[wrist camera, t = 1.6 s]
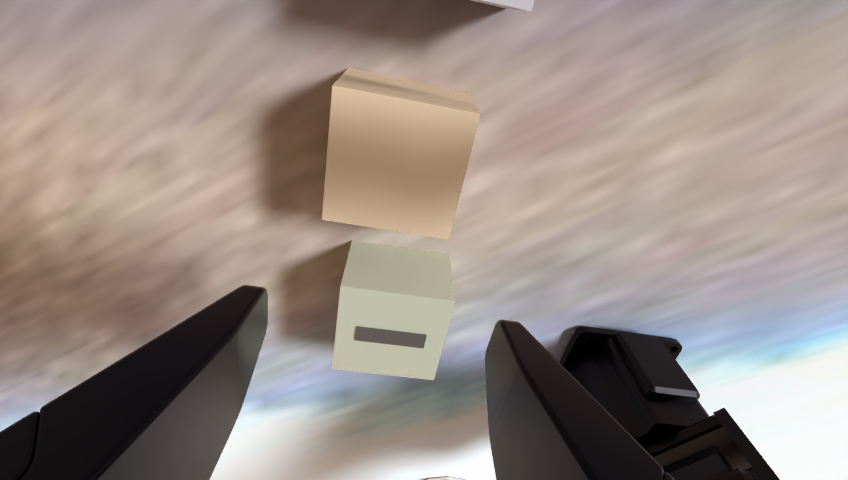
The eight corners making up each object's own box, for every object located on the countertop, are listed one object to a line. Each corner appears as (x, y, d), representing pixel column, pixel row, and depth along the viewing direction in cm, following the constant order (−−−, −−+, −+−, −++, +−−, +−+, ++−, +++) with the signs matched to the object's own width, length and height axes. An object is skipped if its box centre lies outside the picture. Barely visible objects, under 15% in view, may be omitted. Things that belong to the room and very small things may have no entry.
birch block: (442, 198, 20) (448, 239, 17) (337, 180, 19) (321, 219, 16) (467, 91, 18) (480, 113, 14) (348, 67, 17) (332, 85, 14)
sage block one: (430, 325, 24) (433, 381, 20) (343, 314, 23) (331, 370, 20) (448, 252, 22) (456, 302, 18) (352, 239, 21) (340, 287, 17)
